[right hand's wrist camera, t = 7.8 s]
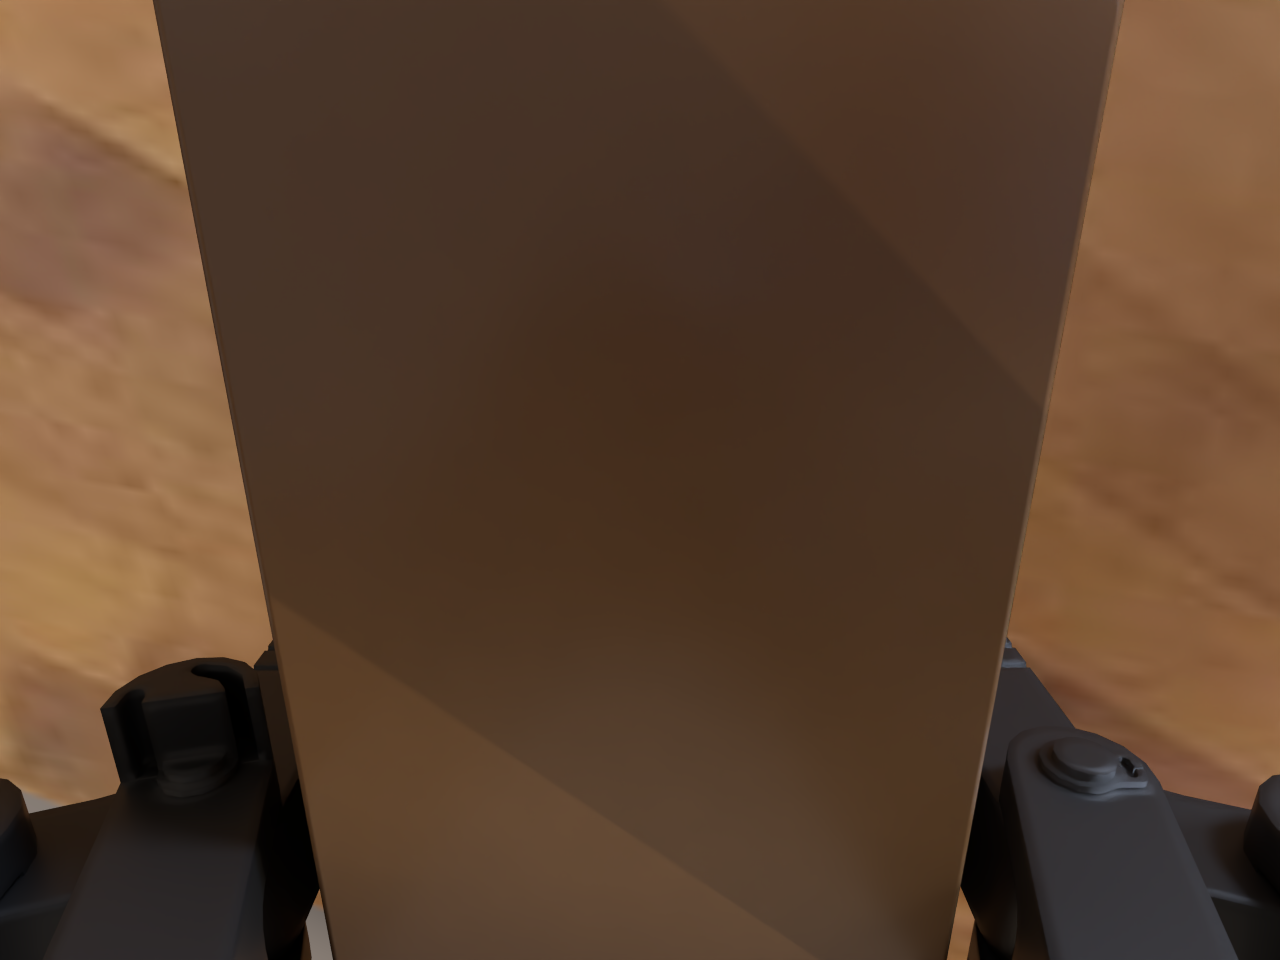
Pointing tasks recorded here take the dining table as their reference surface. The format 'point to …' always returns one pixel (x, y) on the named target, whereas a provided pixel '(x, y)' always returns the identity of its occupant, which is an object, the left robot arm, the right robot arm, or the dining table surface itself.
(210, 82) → the post
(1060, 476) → the dining table surface
